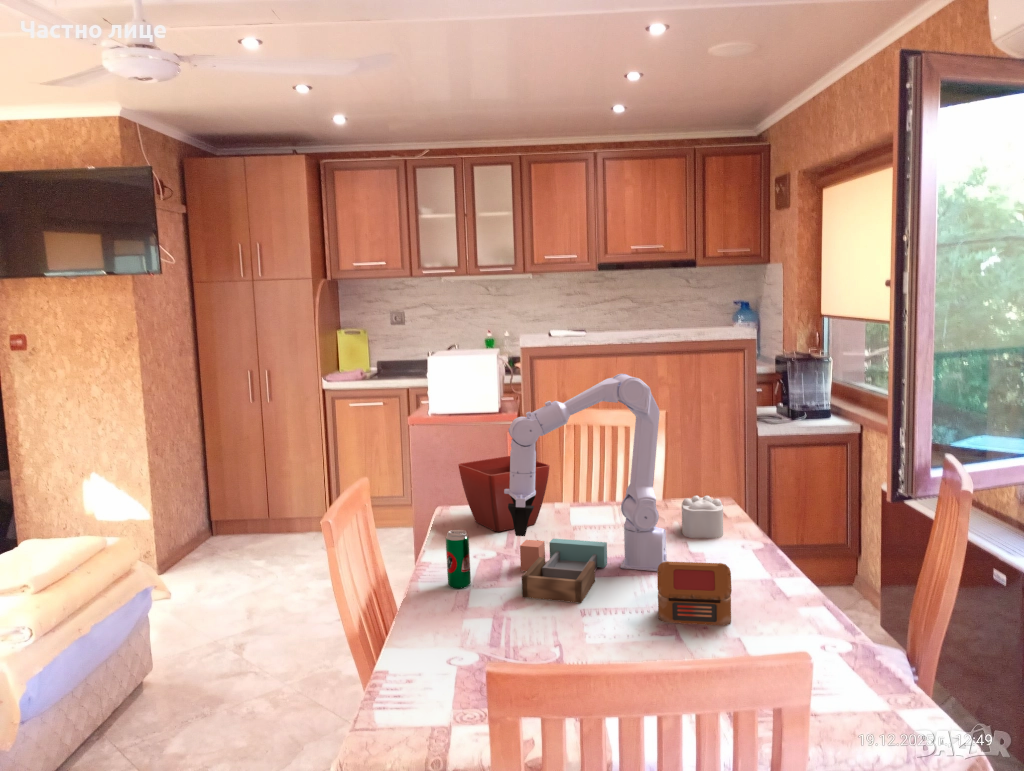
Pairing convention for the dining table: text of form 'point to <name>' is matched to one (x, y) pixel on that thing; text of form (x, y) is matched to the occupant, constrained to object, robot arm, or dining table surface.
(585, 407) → the robot arm
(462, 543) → the soda can
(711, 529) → the lumpy-topped squat cylinder
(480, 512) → the plant pot
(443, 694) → the dining table surface
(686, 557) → the dining table surface
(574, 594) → the caddy
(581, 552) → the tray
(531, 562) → the brick-red block
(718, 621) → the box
